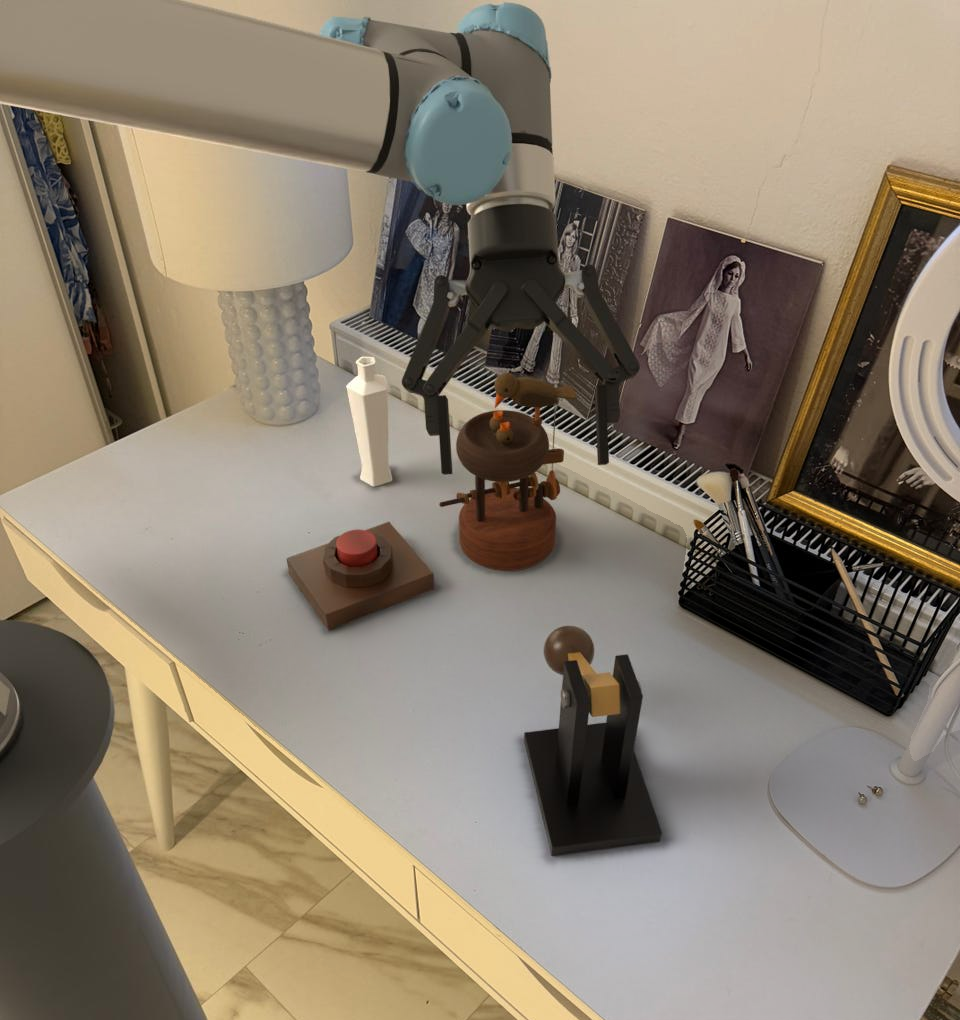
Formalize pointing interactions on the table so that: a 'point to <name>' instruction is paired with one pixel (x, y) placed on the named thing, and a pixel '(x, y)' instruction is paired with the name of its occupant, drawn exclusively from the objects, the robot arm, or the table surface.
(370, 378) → the perfume bottle
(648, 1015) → the table surface
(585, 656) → the lever
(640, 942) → the table surface
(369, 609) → the button housing
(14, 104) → the robot arm
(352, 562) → the button
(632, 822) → the lever bracket
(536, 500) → the music box
